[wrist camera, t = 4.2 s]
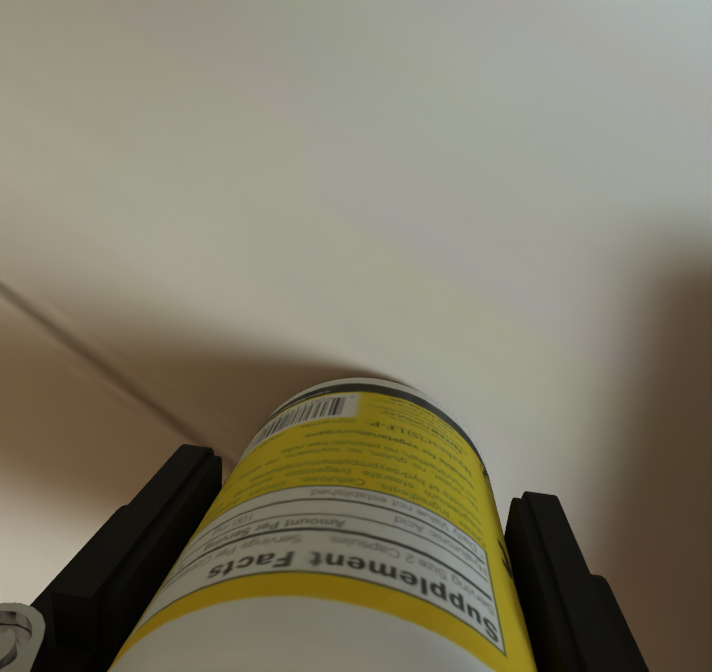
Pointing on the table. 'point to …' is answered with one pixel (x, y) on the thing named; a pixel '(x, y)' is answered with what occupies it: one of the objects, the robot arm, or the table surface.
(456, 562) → the supplement bottle
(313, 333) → the table surface
